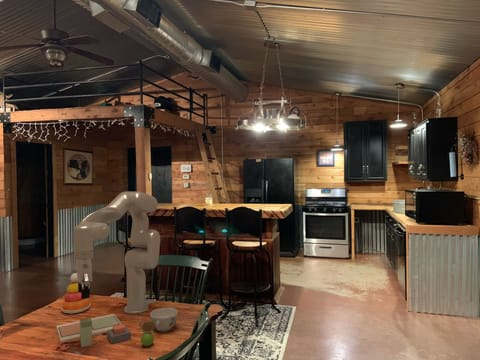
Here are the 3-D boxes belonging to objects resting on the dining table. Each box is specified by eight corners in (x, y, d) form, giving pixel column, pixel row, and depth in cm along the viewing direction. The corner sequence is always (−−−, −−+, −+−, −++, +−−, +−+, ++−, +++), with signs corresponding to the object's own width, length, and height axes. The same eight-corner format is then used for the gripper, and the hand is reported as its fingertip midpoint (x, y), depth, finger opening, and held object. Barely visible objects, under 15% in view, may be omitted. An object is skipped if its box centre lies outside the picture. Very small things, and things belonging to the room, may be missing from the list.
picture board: (113, 315, 179) (113, 313, 179) (123, 328, 164) (123, 325, 164) (56, 327, 165) (56, 325, 165) (60, 343, 150) (60, 340, 150)
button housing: (125, 332, 159) (125, 325, 159) (130, 339, 153) (130, 332, 153) (107, 336, 155) (107, 330, 155) (111, 344, 148) (111, 337, 148)
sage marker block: (90, 341, 151) (90, 317, 151) (92, 344, 148) (91, 321, 148) (80, 343, 149) (80, 320, 149) (81, 347, 146) (81, 323, 146)
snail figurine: (139, 342, 150) (139, 314, 149) (155, 342, 150) (155, 313, 150) (137, 348, 144) (136, 319, 144) (153, 348, 145) (152, 319, 145)
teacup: (157, 322, 170) (156, 306, 170) (181, 324, 168) (181, 307, 168) (143, 336, 155) (143, 318, 155) (170, 338, 153) (170, 320, 153)
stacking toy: (95, 309, 187) (95, 272, 187) (68, 317, 177) (68, 278, 176) (83, 303, 197) (82, 268, 196) (56, 310, 186) (56, 273, 186)
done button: (122, 330, 157) (122, 323, 157) (125, 334, 153) (125, 327, 153) (112, 332, 154) (112, 326, 154) (114, 336, 151) (114, 329, 151)
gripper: (96, 257, 143) (97, 299, 143) (89, 250, 158) (90, 288, 158) (76, 259, 139) (76, 302, 139) (71, 251, 154) (71, 291, 154)
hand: (83, 295), depth 148 cm, fingers open, 9 cm apart
